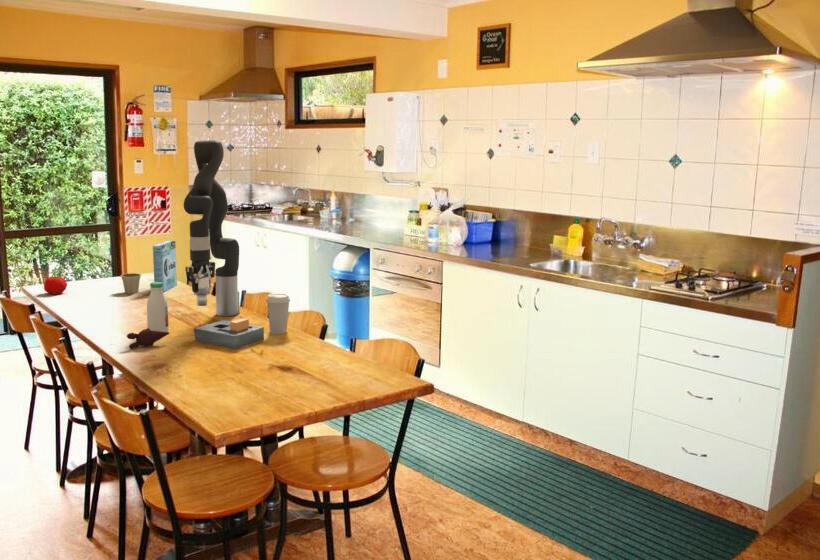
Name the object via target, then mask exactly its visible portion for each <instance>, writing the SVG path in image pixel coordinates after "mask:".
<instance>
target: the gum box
mask: <svg viewBox="0 0 820 560" xmlns="http://www.w3.org/2000/svg"><path fill="white" fill-rule="evenodd" d="M176 249H177V248H176V241H175V240H166V241H163V242H160V243H157V244H155V245H152V261H153V262H152V264H153V282H162V283H163V288H162V291H163V293H165V292H166V291H168V290H171V289H172V288H174V287H175V286H177V285H178V273H177V253H176V252H177V250H176Z"/></svg>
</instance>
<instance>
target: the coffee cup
mask: <svg viewBox="0 0 820 560" xmlns="http://www.w3.org/2000/svg"><path fill="white" fill-rule="evenodd" d="M265 302H266V304H267V315H268V325H269V326H268V327H269V333H270V334H272V335H285V334H286V333H287V331H288V330H287V329H288V319H289V310H290V309H289V307H290V302H291V298H290V297H289V294H287V293H279V292H277V293H269V294H268V295H267V297H266V298H265Z"/></svg>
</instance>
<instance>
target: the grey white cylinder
mask: <svg viewBox="0 0 820 560" xmlns="http://www.w3.org/2000/svg"><path fill="white" fill-rule="evenodd" d="M195 278H196V277H195ZM195 278H194V280H195ZM197 283H198V292H197V293H195V292H193V295H194V296H196V305H197V307H204V306H205V307H206V306H208V295H209V294H210V293H211V292H210V290H211V287H209V276H203V275H200V277H199V279H198V282H197Z"/></svg>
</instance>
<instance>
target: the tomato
mask: <svg viewBox="0 0 820 560" xmlns="http://www.w3.org/2000/svg"><path fill="white" fill-rule="evenodd" d="M67 286H68V282H67V280H66V279H65V278H64V277H63V276H48V278H46V279H45V281H44V282H43V290H44V291H45V293H47V294H50V295H59V294H62V293H63V292H65V291H66V289H67Z"/></svg>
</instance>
